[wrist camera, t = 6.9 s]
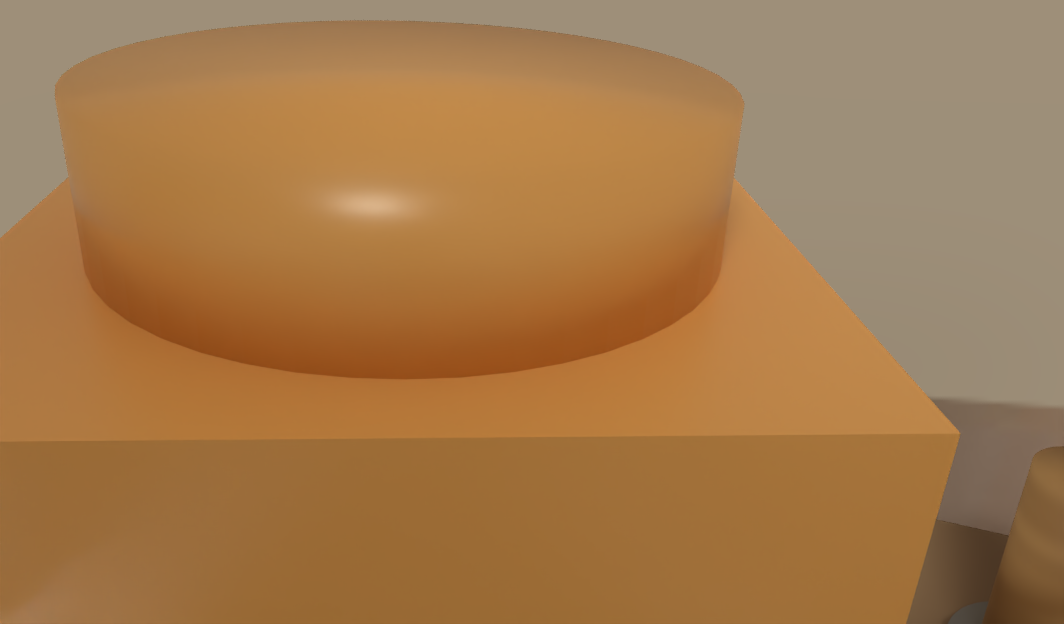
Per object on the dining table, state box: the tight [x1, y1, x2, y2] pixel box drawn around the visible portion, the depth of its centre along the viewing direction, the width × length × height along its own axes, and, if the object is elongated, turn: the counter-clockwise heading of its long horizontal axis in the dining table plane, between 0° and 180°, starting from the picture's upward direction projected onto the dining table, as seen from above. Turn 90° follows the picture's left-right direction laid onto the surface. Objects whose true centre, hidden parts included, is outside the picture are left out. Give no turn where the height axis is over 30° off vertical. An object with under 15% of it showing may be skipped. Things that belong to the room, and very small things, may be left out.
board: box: [906, 446, 1064, 624], centre depth 19 cm, size 18×11×6 cm, turn 70°
